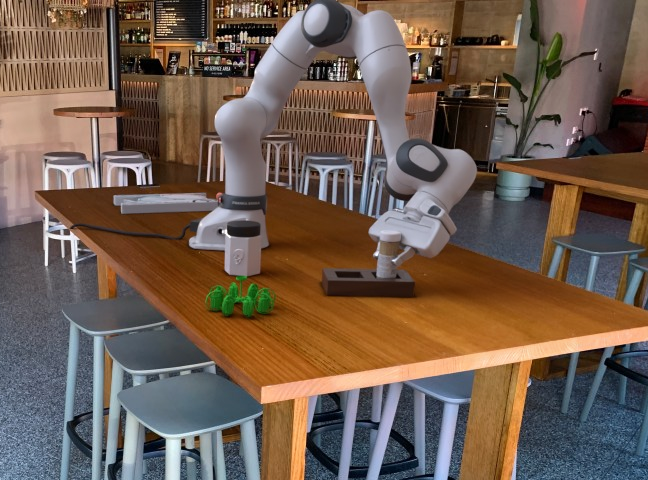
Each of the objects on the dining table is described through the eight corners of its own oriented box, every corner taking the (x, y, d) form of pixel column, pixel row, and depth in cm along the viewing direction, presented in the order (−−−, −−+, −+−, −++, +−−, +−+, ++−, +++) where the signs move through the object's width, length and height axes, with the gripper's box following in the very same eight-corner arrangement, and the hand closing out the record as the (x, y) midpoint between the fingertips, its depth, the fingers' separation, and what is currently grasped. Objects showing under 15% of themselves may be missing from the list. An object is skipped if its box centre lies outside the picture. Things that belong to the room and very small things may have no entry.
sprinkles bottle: (386, 286, 183) (392, 228, 178) (399, 291, 179) (405, 232, 174) (370, 288, 181) (376, 230, 176) (383, 293, 178) (389, 234, 172)
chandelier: (255, 324, 156) (256, 290, 154) (191, 312, 163) (191, 279, 161) (288, 306, 168) (290, 274, 165) (227, 295, 175) (227, 264, 173)
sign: (220, 210, 273) (206, 200, 291) (220, 201, 272) (206, 192, 290) (121, 213, 266) (113, 203, 284) (121, 204, 264) (113, 195, 282)
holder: (413, 297, 175) (415, 281, 174) (326, 295, 176) (328, 280, 174) (403, 284, 185) (404, 269, 184) (321, 282, 186) (322, 268, 184)
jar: (220, 274, 192) (221, 225, 187) (228, 267, 199) (230, 219, 195) (256, 277, 189) (258, 227, 185) (263, 269, 197) (265, 221, 192)
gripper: (386, 198, 185) (349, 243, 184) (450, 212, 168) (409, 262, 167) (398, 215, 188) (362, 260, 188) (462, 231, 172) (423, 280, 171)
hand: (385, 261), depth 178 cm, fingers open, 5 cm apart
